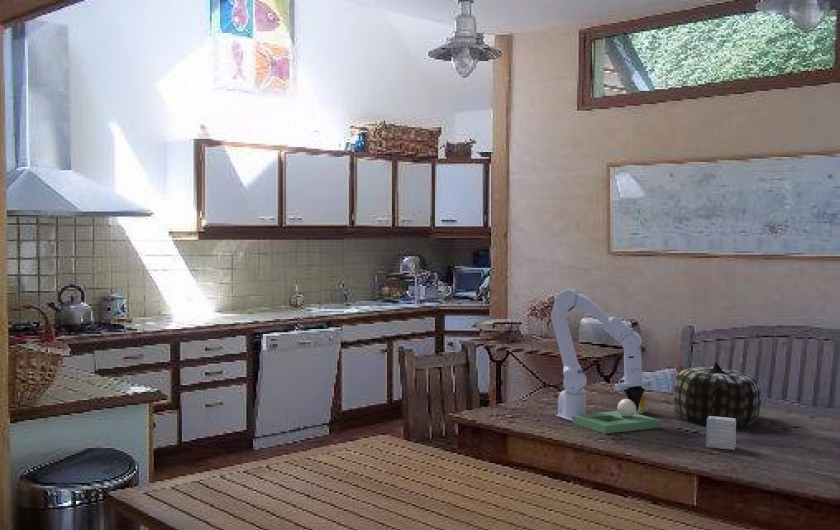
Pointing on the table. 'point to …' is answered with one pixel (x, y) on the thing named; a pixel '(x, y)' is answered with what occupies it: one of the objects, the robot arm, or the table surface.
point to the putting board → (614, 422)
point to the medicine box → (721, 432)
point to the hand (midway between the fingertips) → (634, 409)
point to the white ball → (626, 407)
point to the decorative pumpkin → (716, 395)
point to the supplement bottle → (641, 404)
